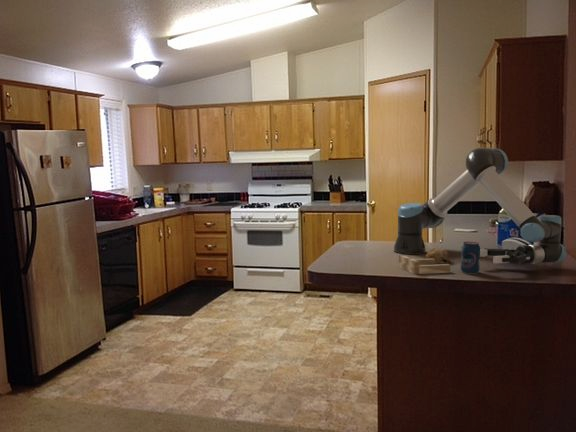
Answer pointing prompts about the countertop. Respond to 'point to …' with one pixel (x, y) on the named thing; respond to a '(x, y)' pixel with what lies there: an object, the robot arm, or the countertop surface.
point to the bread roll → (438, 255)
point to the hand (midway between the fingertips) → (482, 256)
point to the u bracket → (422, 265)
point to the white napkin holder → (513, 243)
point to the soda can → (470, 257)
